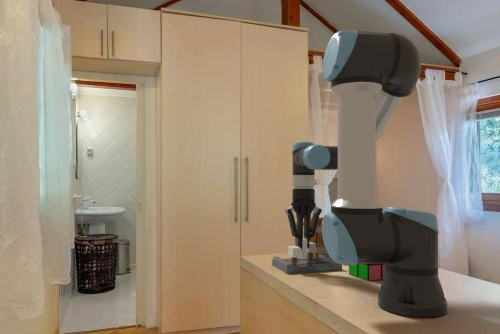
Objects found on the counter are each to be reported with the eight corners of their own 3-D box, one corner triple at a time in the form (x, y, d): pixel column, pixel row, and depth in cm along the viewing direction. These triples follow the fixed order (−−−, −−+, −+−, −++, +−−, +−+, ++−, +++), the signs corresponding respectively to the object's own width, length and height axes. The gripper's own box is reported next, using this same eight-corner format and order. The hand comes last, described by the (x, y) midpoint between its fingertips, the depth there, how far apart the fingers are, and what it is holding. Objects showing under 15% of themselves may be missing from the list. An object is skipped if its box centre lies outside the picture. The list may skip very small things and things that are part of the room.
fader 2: (315, 259, 140) (315, 243, 140) (308, 259, 139) (308, 244, 139) (310, 256, 144) (310, 241, 144) (303, 257, 143) (303, 242, 143)
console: (342, 270, 133) (342, 261, 133) (286, 273, 127) (286, 264, 127) (322, 262, 146) (322, 253, 147) (271, 264, 141) (271, 256, 141)
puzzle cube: (394, 278, 122) (394, 246, 122) (368, 281, 118) (368, 247, 119) (373, 271, 131) (373, 241, 132) (348, 274, 128) (348, 243, 128)
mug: (339, 254, 163) (339, 217, 164) (347, 260, 150) (347, 220, 150) (292, 253, 163) (292, 217, 164) (295, 260, 150) (295, 220, 151)
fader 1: (300, 264, 130) (300, 247, 130) (292, 264, 129) (293, 248, 130) (295, 261, 134) (295, 245, 135) (287, 262, 134) (287, 246, 134)
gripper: (316, 187, 139) (316, 255, 138) (281, 187, 136) (281, 257, 135) (326, 188, 132) (326, 259, 131) (289, 188, 128) (289, 261, 128)
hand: (303, 258), depth 133 cm, fingers closed
